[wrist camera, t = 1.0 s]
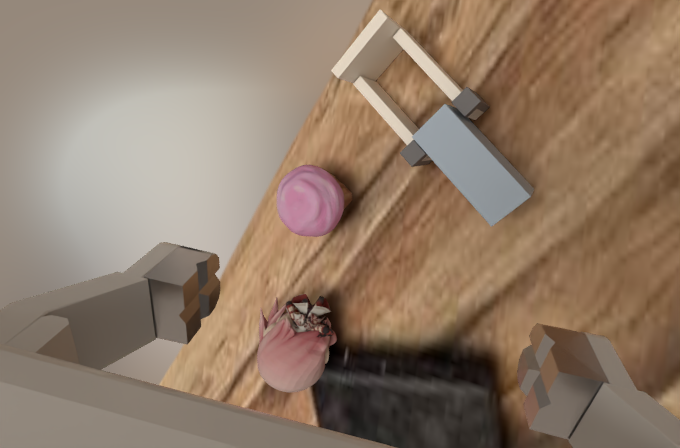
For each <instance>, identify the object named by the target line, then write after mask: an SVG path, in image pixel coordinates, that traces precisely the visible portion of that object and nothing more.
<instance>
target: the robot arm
mask: <svg viewBox="0 0 680 448" xmlns="http://www.w3.org/2000/svg"><path fill="white" fill-rule="evenodd" d="M219 268H220V266H219V257H218V256H217V255H216V254H214V253H210V252H206V251H202V250H197V249H193V248H188V247H184V246H180V245H176V244H171V243H167V242H163V243H159V244H158V245H157V246H156V247H154V248H153V249H152V250H151V251H149V252H148V253H147V254H146V255H145V256H144V257H142V258H141V259H140V260H138V261H137V262H136V263H135V264H133V265H132V266H131V267H130V268H129V269H127V270H126V271H125V272H124V273H120V272H115V273H112V274H108V275H105V276H102V277H99V278H95V279H92V280H88V281H84V282H81V283H78V284H74V285H71V286H67V287H64V288H61V289H57V290H54V291H50V292H47V293H43V294H40V295H36V296H33V297H30V298H26V299H23V300H19V301H16V302H13V303H10V304H9V305H7V306H6V307H4V308H3V309H1V310H0V448H396V447H392V446H389V445H385V444H381V443H377V442H373V441H370V440H366V439H362V438H358V437H354V436H350V435H347V434H343V433H339V432H335V431H331V430H328V429H324V428H320V427H316V426H312V425H308V424H305V423H301V422H297V421H293V420H289V419H286V418H282V417H278V416H274V415H270V414H266V413H263V412H259V411H255V410H251V409H247V408H244V407H240V406H236V405H232V404H228V403H225V402H221V401H217V400H213V399H209V398H205V397H202V396H198V395H194V394H190V393H186V392H183V391H179V390H175V389H171V388H167V387H164V386H160V385H156V384H152V383H148V382H145V381H141V380H137V379H133V378H129V377H125V376H121V375H118V374H114V373H110V372H106V371H103V370H101V369H103V368H105V367H107V366H108V365H110V364H112V363H114V362H116V361H117V360H119V359H121V358H123V357H125V356H126V355H128V354H130V353H132V352H134V351H135V350H137V349H139V348H141V347H143V346H144V345H146V344H148V343H150V342H152V341H154V340H155V339H156V338H160V339H165V340H169V341H174V342H178V343H183V344H188V343H189V342H190V341H191V339H192V338H193V337H194V335H195V334H196V333H197V331H198V330H199V329H200V327H201V319H202V318H205V317H207V316H209V315H210V314H211V313H212V311H213V310H214V308H215V306H216V304H217V301H218V299H219V294H220V281H219V279H218V278H217V277H216V275H215V273H216V272H217V270H218V269H219ZM529 337H530V340H531V343H532V345H530V346H528V347H527V348H525V349H523V351H522V354H521V356H520V359H519V364H518V370H517V373H518V383H519V387H520V389H521V390H522V391H523V392H524V394H525V395H526V396H527V398H526V400H525V402H524V408H525V412H526V417H527V421H528V425H529V429H532V430H535V431H539V432H543V433H546V434H550V435H554V436H557V437H561V438H565V439H568V440H569V443H570V444H571V445H572V447H573V448H680V420H679V419H678V418H677V417H675V416H674V415H673V414H672V413H670V412H669V411H668V410H667V409H665V408H664V407H663V406H662V405H660V404H659V403H658V402H657V401H655V400H654V399H653V398H652V397H650V396H649V395H648V394H646V393H645V392H642V391H638V390H637V389H636V387H635V385H634V384H633V382H632V380H631V378H630V376H629V375H628V373H627V371H626V369H625V367H624V366H623V364H622V362H621V360H620V358H619V357H618V355H617V353H616V351H615V350H614V348H613V346H612V344H611V342H610V341H609V339H607V338H606V337H605V336H601V335H596V334H591V333H585V332H577V331H572V330H567V329H562V328H558V327H553V326H548V325H543V324H538V323H537V324H536V325H535V326H534V327H533V329H532V331H531V333H530V335H529Z"/></svg>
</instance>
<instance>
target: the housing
mask: <svg viewBox="0 0 680 448" xmlns="http://www.w3.org/2000/svg"><path fill="white" fill-rule="evenodd" d="M403 49H404V50H405V51H406V52H407V53H408V54H409V55H410V56H411V57H412V59H413V60H414V61H415V62H416V63H417V64H418V65H419V66H420V67H421V68H422V69H423V70H424V71H425V72H426V74H427V75H428V76H429V77H430V78H431V79H432V80H433V81H434V82H435V83H436V84H437V85H438V86H439V87H440V89H441V90H442V91H443V92H444V93H445V94H446V95H447V96H448V97H449V98H450V99H451V100H452V103H453V105H454V106H455V107H456V108H457V109H458V110H459V111H460V112H461V113H462V114H463V115H464V116H465V117H468V118H470V119H473V120H476V119H477V118H478V117H480V116H481V115H482V114H483V113H484V112H485V111H486V110H487V109H488V108H489V106H488V105H487V104H486V102H485V101H484V100H483V99H482V98H481V97H480V96H479V95H478V94H477V93H475V92H474V91H472V90H471V89H469V88H468V87H466V88H465V89H464V90H462V89H461V87H460V86H459V85H458V84H457V83H456V82H455V81H454V80H453V79H452V78H451V77H450V76H449V75H448V74H447V73H446V72H445V71H444V69H443V68H442V67H441V66H440V65H439V64H438V63H437V62H436V61H435V60H434V59H433V58H432V57H431V56H430V55H429V54H428V53H427V52H426V50H425V49H424V48H423V47H422V46H421V45H420V44H419V43H418V42H417V41H416V40H415V39H414V38H413V37H412V36H411V35H410V34H409V32H408V31H407V30H405V29H404V28H403V27H402V26H400V25H399V24H398V23H397V22H395V21H394V20H393V19H391V18H390V17H389V16H388V15H386V14H385V13H384V12H383V11H381V10H379V11H378V13H377V14H376V15H375V16H374V18H373V19H372V20H371V21H370V23H369V24H368V25H367V26H366V28H365V29H364V30H363V31H362V33H361V34H360V35H359V36H358V38H357V39H356V40H355V41H354V43H353V44H352V45H351V46H350V48H349V49H348V50H347V51H346V53H345V54H344V55H343V56H342V58H341V59H340V60H339V61H338V63H337V64H336V65H335V66H334V68H333V69H332V70H331V71H332V72H333V73H334V74H335V75H336V77H337V78H339V79H342V80H345V81H348V82H351V83H354V86H355V87H356V88H357V89H358V90H359V91H360V92H361V93H362V95H363V96H364V97H365V98H366V99H367V100H368V101H369V103H370V104H371V105H372V106H373V107H374V108H375V109H376V110H377V112H378V113H379V114H380V115H381V116H382V117H383V118H384V120H385V121H386V122H387V123H388V124H389V125H390V126H391V128H392V129H393V130H394V131H395V132H396V133H397V134H398V135H399V137H400V138H401V139H402V140H403V141H404V142H405V143H406V145H407V146H406V147H405V148H404V149H403V150H402V151H401V152H400V154H401V155H402V156H403V157H404V158H405V160H406V161H407V162H408V163H409V164H410V165H411V166H412V167H413V166H420V165H427V164H429V163H430V162H431V161H432V159H431V158H430V157H429V156H428V155H427V154H426V152H425V151H424V150H423V149H422V148H421V147H420V146H419V145H418V143H417V142H416V141H415V140H414V139H413V138H412V136H413V135H414V134H415V133H416V132H417V131H418V130H419V129H418V127H417V126H416V125H415V124H414V123H413V122H412V121H411V120H410V119H409V117H408V116H407V115H406V114H405V113H404V112H403V111H402V110H401V108H400V107H399V106H398V105H397V104H396V103H395V102H394V101H393V100H392V98H391V97H390V96H389V95H388V94H387V93H386V92H385V91H384V90H383V88H382V87H381V86H380V85H379V84H378V83H377V82H375V81H376V80H377V79H378V78H379V77H380V75H381V74H382V73H383V72H384V71H385V70H386V68H387V67H388V66H389V65H390V64H391V63H392V62H393V60H394V59H395V58H396V57H397V56H398V55H399V54H400V52H401V51H402V50H403Z"/></svg>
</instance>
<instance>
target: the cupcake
mask: <svg viewBox="0 0 680 448" xmlns="http://www.w3.org/2000/svg"><path fill="white" fill-rule="evenodd" d="M351 201H352V194H351V192H350V191H349V190H348V189H347V188H346V187H345V186H344V185H343V184H342V183H341V182H339V181H338V180H337V178H336V177H335V176H334V175H333V174H331V173H328V172H327V171H325V170H324V169H322V168H320V167H317V166H313V165H303V166H300V167H297V168H295V169H294V170H292V171H291V172H290V173H288V174H287V175H286V176H285V177H284V178H283V179H282V181H281V183H280V185H279V187H278V191H277V210H278V214H279V216H280V219H281V220H282V222H283V223H284V224H285V225H286V226H287V227H288V228H289V229H290V230H291V231H292V232H294V233H296V234H298V235H301V236H314V237H317V236H322V235H325V234H327V233H329V232H330V231H332V230H333V229H334V228H335V227H336V225H337V224H338V222H339V220H340V218H341V216H342V213H343V209H344V208H346V207H347V206H348V204H349V203H350V202H351Z"/></svg>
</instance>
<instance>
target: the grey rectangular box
mask: <svg viewBox="0 0 680 448" xmlns="http://www.w3.org/2000/svg"><path fill="white" fill-rule="evenodd" d="M412 138H413V139H414V140H415V141H416V142H417V143H418V145H419V146H420V147H421V148H422V149H423V150H424V151H425V152H426V154H427V155H428V156H429V157H430V158H431V159H432V160H433V161H434V163H435V164H436V165H437V166H438V167H439V168H440V169H441V170H442V172H443V173H444V174H445V175H446V176H447V177H448V178H449V179H450V181H451V182H452V183H453V184H454V185H455V186H456V187H457V188H458V190H459V191H460V192H461V193H462V194H463V195H464V196H465V197H466V199H467V200H468V201H469V202H470V203H471V204H472V205H473V206H474V208H475V209H476V210H477V211H478V212H479V213H480V214H481V215H482V217H483V218H484V219H485V220H486V221H487V222H488V223H489V224H490V226H491V227H492V226H493V225H494V224H496V223H497V222H498V221H500V220H501V219H502V218H504V217H505V216H506V215H508V214H509V213H510V212H511V211H513V210H514V209H515V208H517V207H518V206H519V205H521V204H522V203H523V202H525V201H526V200H527V199H529V198H530V197H531V195H532V193H533V191H534V188H533V187H532V186H531V185H530V184H529V183H528V182H527V181H526V180H525V178H524V177H523V176H522V175H521V174H520V173H519V172H518V171H517V170H516V169H515V168H514V167H513V166H512V165H511V163H510V162H509V161H508V160H507V159H506V158H505V157H504V156H503V155H502V154H501V153H500V152H499V151H498V150H497V148H496V147H495V146H494V145H493V144H492V143H491V142H490V141H489V140H488V139H487V138H486V137H485V136H484V135H483V133H482V132H481V131H480V130H479V129H478V128H477V127H476V126H475V125H474V124H473V123H472V122H471V121H470V119H469V118H468V117H465V116H464V115H463V114H462V113H461V112H460V111H459V110H458V109H457V108H454V107H452V106H449V105H447V104H444V105H443V106H442V107H441V108H440V109H439V110H438V111H437V112H436V113H435V114H434V115H433V116H432V117H431V118H430V119H429V120H428V121H427V122H426V123H425V124H424V125H423V126H422V127H421V128H420V129H419V130H418V131H417V132H416V133H415V134H414V135H413V136H412Z"/></svg>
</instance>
